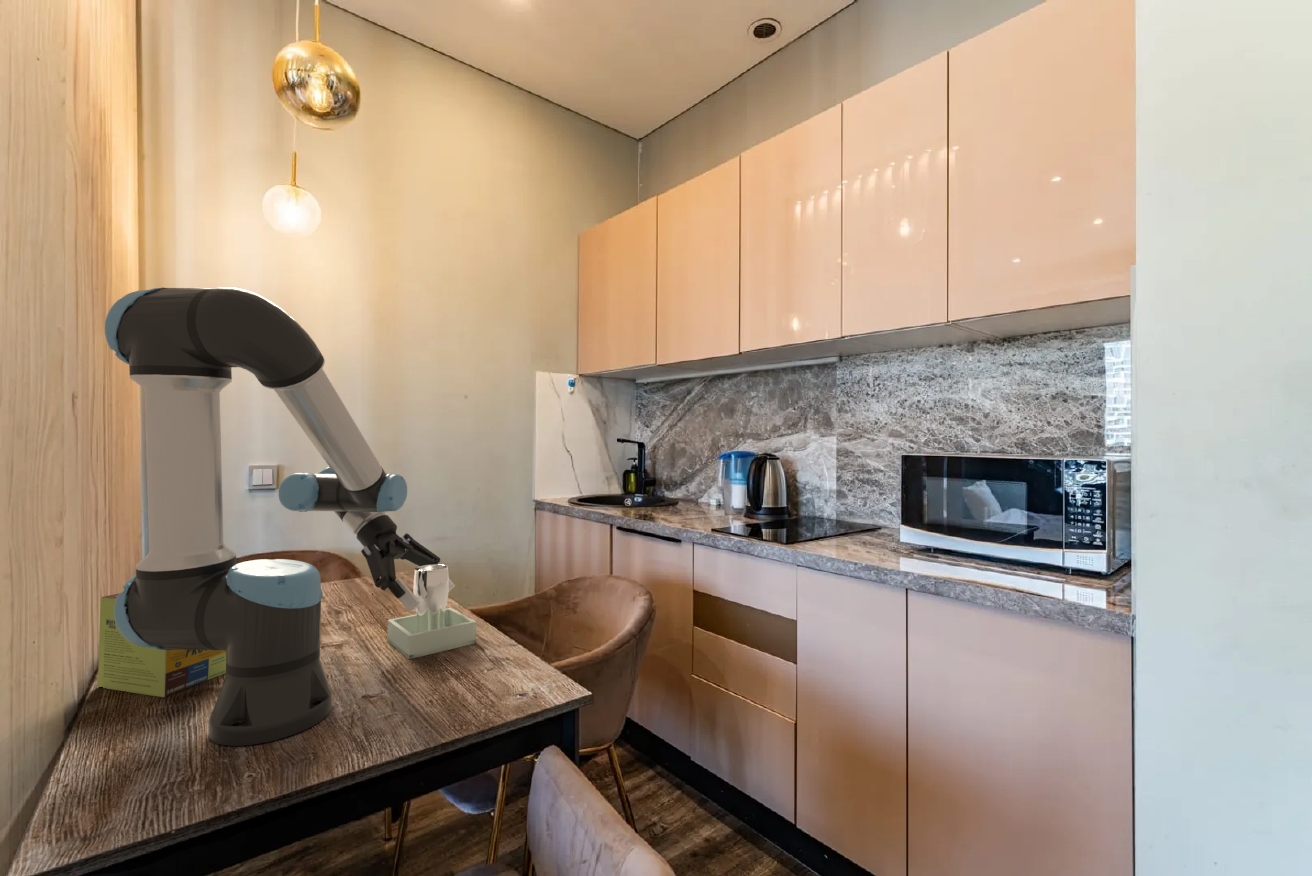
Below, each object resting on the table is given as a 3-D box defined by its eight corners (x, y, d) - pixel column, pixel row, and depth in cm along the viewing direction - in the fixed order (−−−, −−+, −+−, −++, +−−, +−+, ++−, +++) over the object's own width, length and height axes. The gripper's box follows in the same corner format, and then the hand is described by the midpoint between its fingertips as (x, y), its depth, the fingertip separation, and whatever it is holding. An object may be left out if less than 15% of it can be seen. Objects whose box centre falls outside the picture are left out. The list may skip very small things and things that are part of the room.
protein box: (164, 698, 89) (167, 603, 90) (95, 688, 93) (98, 596, 93) (228, 673, 99) (230, 587, 100) (164, 665, 103) (166, 582, 103)
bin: (476, 643, 115) (476, 621, 115) (408, 659, 106) (409, 636, 106) (450, 627, 125) (450, 607, 125) (387, 641, 116) (387, 620, 116)
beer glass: (448, 641, 114) (449, 569, 114) (411, 646, 111) (413, 572, 111) (447, 631, 120) (448, 563, 120) (413, 635, 117) (414, 565, 118)
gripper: (395, 528, 131) (452, 594, 129) (316, 546, 106) (384, 628, 104) (416, 507, 130) (473, 573, 128) (341, 520, 106) (410, 602, 103)
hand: (433, 598), depth 116 cm, fingers open, 13 cm apart
